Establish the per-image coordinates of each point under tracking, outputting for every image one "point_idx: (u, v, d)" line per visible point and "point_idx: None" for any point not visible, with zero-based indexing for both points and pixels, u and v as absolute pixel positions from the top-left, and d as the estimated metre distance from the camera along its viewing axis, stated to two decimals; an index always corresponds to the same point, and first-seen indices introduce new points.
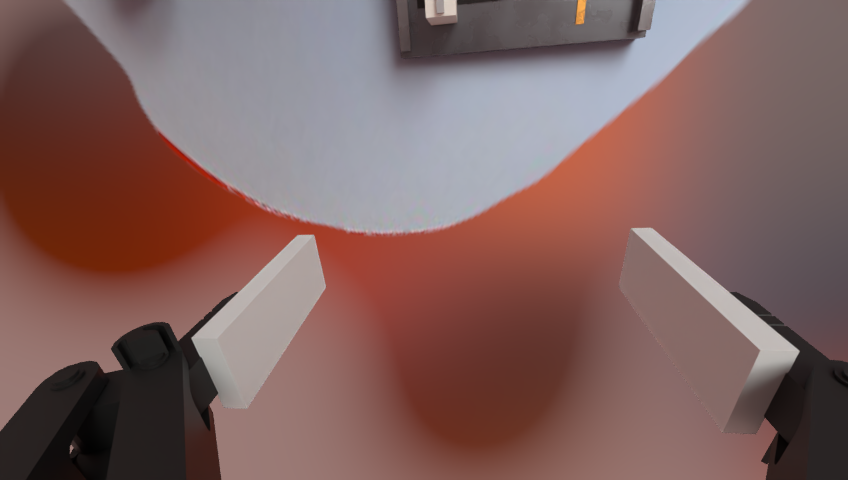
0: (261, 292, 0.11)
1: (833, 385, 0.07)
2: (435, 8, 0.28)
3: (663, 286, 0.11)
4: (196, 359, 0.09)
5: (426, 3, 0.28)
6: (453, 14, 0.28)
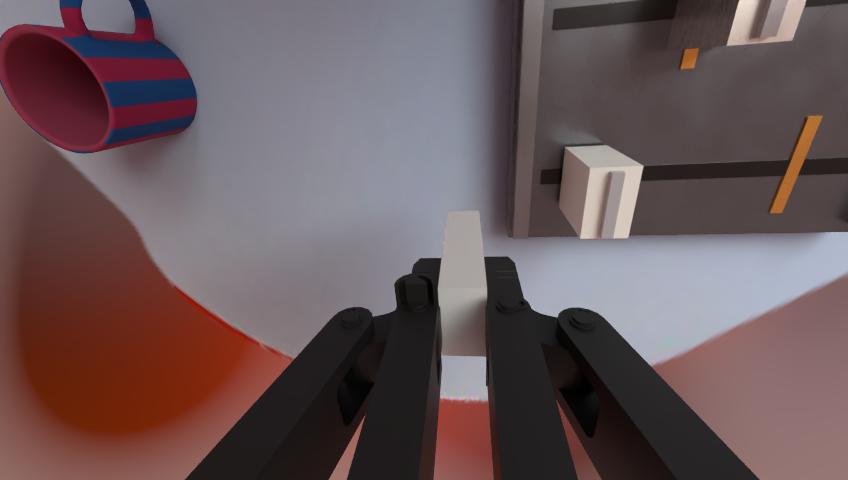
0: (463, 255, 0.12)
1: (497, 315, 0.09)
2: (597, 229, 0.19)
3: None
4: None
5: (584, 222, 0.19)
6: (623, 236, 0.19)
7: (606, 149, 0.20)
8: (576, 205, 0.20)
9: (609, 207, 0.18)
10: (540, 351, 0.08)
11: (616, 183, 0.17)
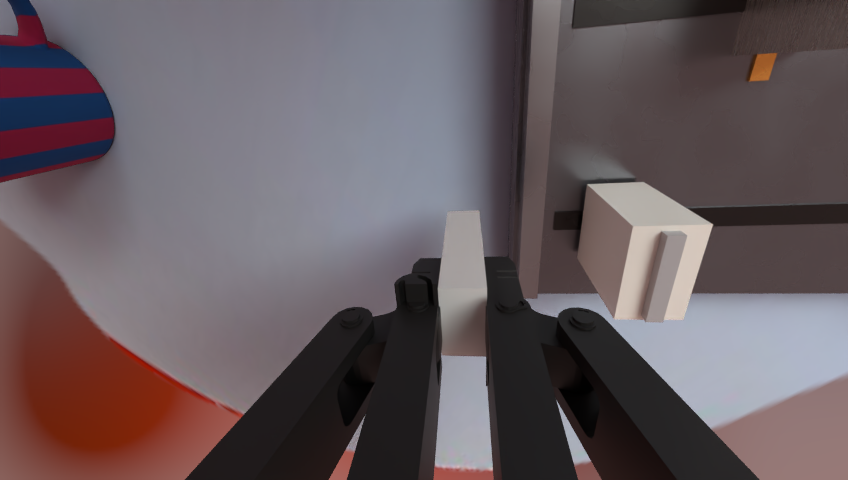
0: (463, 255, 0.12)
1: (497, 315, 0.09)
2: (639, 307, 0.13)
3: None
4: None
5: (621, 298, 0.13)
6: (676, 317, 0.13)
7: (645, 189, 0.15)
8: (607, 269, 0.14)
9: (660, 281, 0.12)
10: (540, 351, 0.08)
11: (672, 249, 0.12)
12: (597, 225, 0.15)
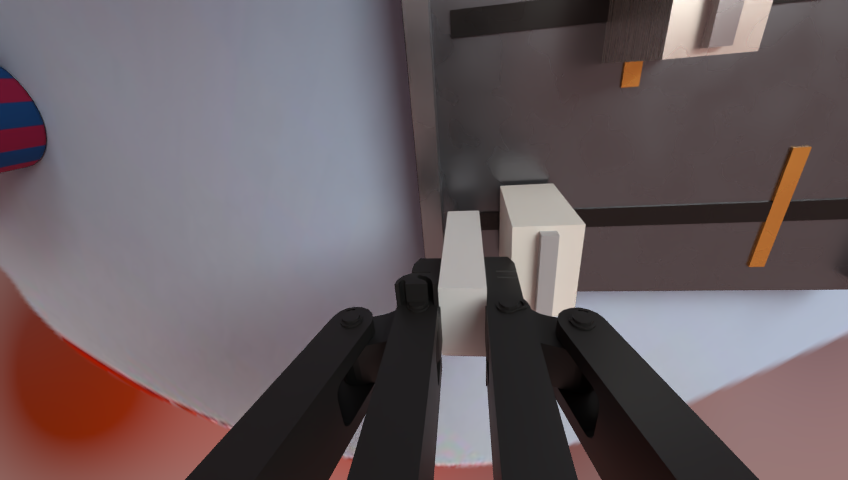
0: (463, 255, 0.12)
1: (497, 315, 0.09)
2: (531, 304, 0.14)
3: None
4: None
5: None
6: None
7: (549, 191, 0.15)
8: None
9: (542, 279, 0.13)
10: (540, 351, 0.08)
11: (548, 249, 0.12)
12: (503, 225, 0.16)
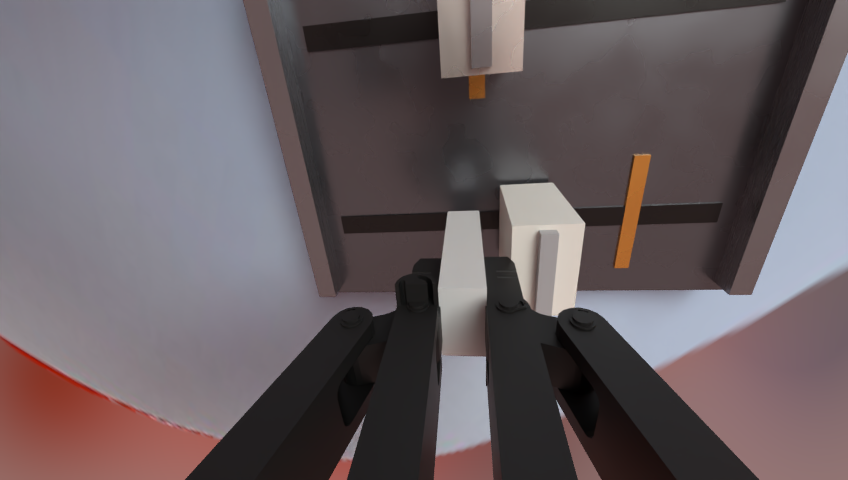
0: (463, 255, 0.12)
1: (497, 315, 0.09)
2: (531, 303, 0.14)
3: None
4: None
5: None
6: None
7: (549, 190, 0.15)
8: None
9: (541, 278, 0.13)
10: (540, 351, 0.08)
11: (548, 248, 0.12)
12: (503, 225, 0.16)
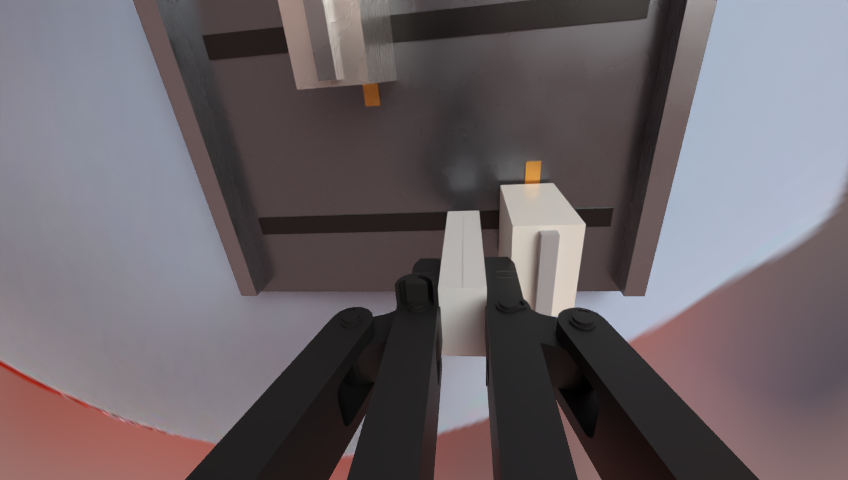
0: (463, 255, 0.12)
1: (497, 315, 0.09)
2: (531, 304, 0.14)
3: None
4: None
5: None
6: None
7: (549, 190, 0.15)
8: None
9: (541, 279, 0.13)
10: (540, 351, 0.08)
11: (548, 248, 0.12)
12: (503, 225, 0.16)
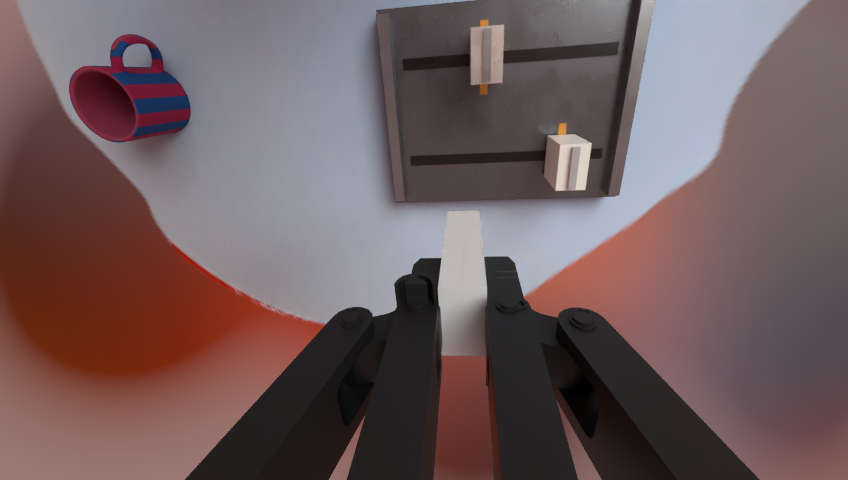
0: (463, 255, 0.12)
1: (497, 315, 0.09)
2: (566, 184, 0.30)
3: None
4: None
5: (558, 179, 0.30)
6: (582, 189, 0.30)
7: (573, 136, 0.32)
8: (553, 170, 0.31)
9: (572, 169, 0.29)
10: (540, 351, 0.08)
11: (575, 153, 0.28)
12: (550, 152, 0.32)
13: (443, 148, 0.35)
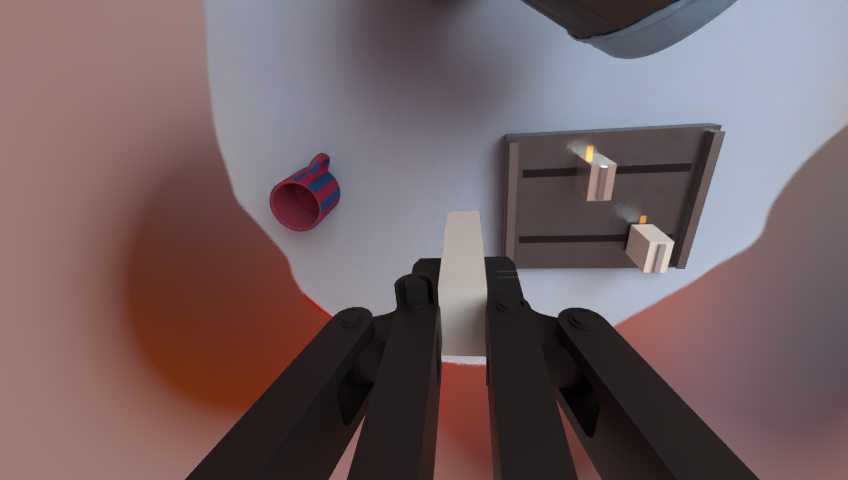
0: (462, 255, 0.12)
1: (497, 315, 0.09)
2: (651, 268, 0.40)
3: None
4: None
5: (646, 265, 0.40)
6: (664, 271, 0.40)
7: (653, 228, 0.42)
8: (640, 256, 0.41)
9: (658, 259, 0.39)
10: (540, 351, 0.08)
11: (662, 249, 0.38)
12: (636, 240, 0.42)
13: (546, 231, 0.45)
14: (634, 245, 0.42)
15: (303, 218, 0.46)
